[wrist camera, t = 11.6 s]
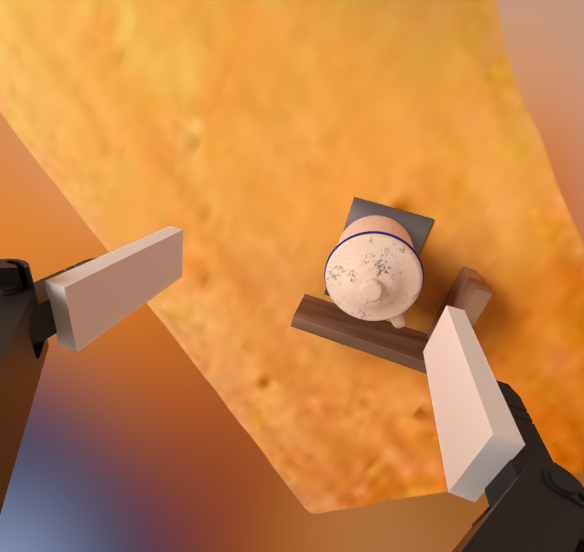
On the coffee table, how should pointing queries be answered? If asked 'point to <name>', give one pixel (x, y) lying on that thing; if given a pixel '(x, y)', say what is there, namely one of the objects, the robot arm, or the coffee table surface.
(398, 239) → the teacup with lid
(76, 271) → the robot arm
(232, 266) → the coffee table surface
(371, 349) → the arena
